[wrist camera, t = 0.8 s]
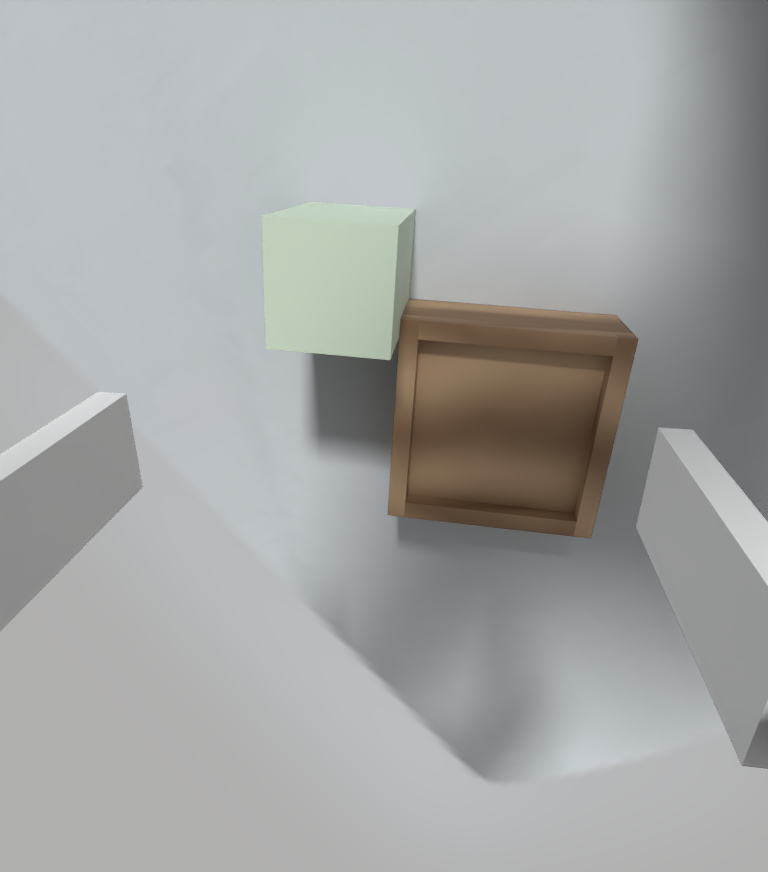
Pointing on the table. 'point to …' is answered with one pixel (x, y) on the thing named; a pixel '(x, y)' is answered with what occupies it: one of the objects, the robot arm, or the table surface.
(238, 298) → the table surface
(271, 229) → the green block
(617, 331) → the brown crate
